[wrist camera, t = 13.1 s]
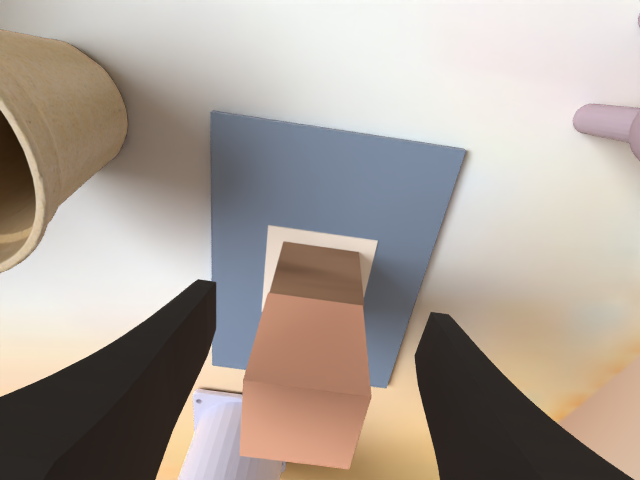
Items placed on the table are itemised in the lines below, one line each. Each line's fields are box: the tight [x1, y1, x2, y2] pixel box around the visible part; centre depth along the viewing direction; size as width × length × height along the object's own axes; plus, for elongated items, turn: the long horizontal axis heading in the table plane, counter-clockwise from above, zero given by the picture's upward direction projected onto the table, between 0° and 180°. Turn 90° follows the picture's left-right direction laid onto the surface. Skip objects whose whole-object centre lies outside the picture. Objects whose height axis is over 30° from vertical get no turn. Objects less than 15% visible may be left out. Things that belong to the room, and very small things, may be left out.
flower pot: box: [0, 29, 128, 273], centre depth 15 cm, size 9×9×9 cm
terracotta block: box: [240, 293, 371, 469], centre depth 16 cm, size 4×4×5 cm
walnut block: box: [269, 241, 364, 309], centre depth 20 cm, size 4×4×5 cm
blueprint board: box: [211, 111, 466, 388], centre depth 23 cm, size 18×13×1 cm
